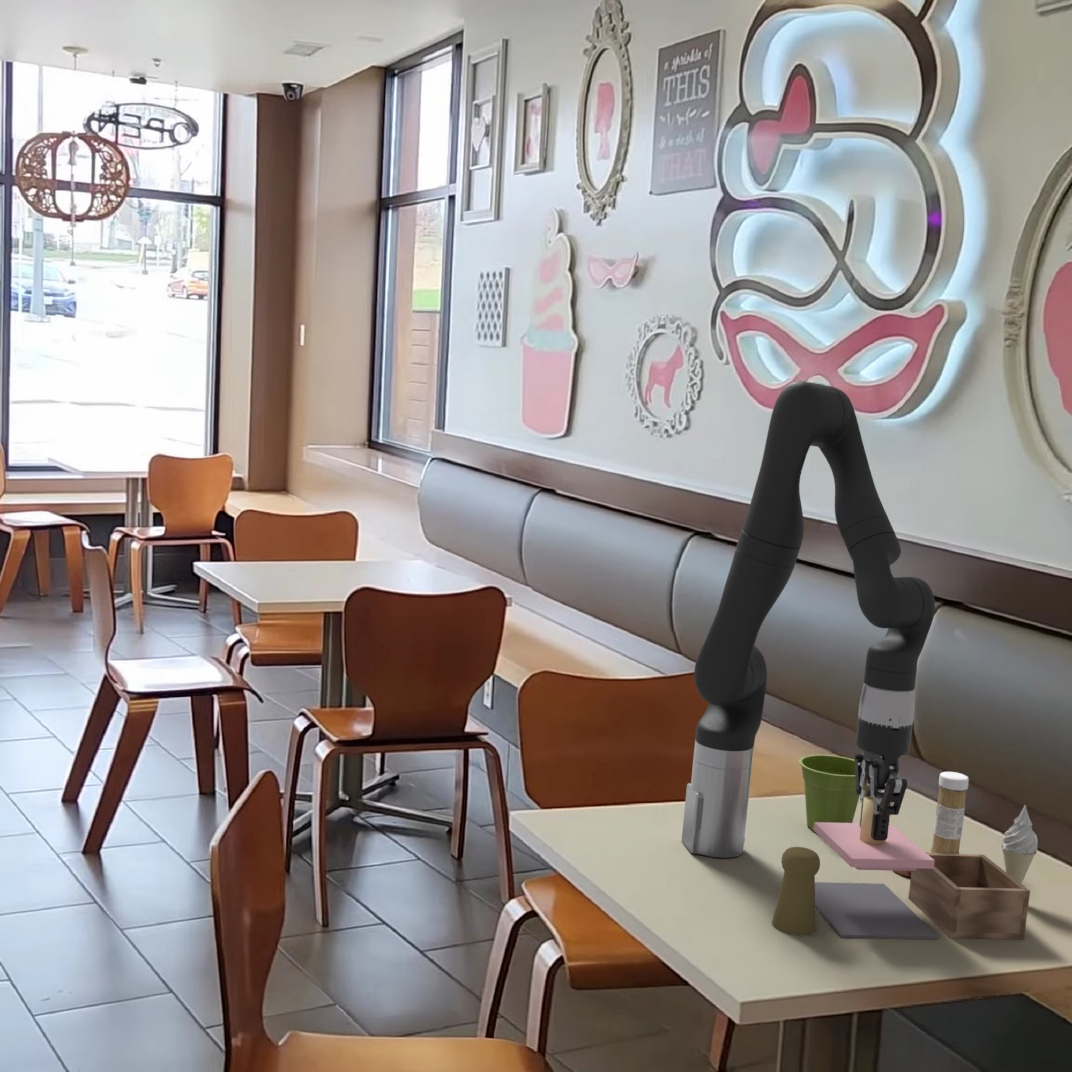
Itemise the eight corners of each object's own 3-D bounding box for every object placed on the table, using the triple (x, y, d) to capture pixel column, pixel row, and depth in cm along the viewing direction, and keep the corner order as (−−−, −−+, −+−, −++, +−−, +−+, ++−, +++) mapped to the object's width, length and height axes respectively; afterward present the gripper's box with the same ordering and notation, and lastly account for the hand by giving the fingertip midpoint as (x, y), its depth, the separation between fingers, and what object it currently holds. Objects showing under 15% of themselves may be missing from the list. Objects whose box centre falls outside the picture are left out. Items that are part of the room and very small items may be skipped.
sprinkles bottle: (941, 847, 229) (950, 769, 228) (965, 856, 226) (974, 777, 224) (924, 852, 226) (934, 772, 225) (948, 861, 223) (958, 780, 221)
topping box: (949, 937, 192) (955, 889, 191) (908, 898, 205) (913, 852, 204) (1023, 939, 193) (1030, 891, 192) (977, 899, 207) (983, 854, 206)
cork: (806, 939, 187) (815, 861, 186) (764, 926, 190) (773, 849, 189) (822, 925, 192) (830, 849, 191) (781, 913, 195) (789, 838, 194)
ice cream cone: (1013, 908, 205) (1025, 810, 203) (987, 896, 209) (999, 799, 207) (1037, 905, 207) (1050, 808, 205) (1011, 892, 211) (1023, 797, 209)
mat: (840, 937, 189) (841, 934, 189) (795, 884, 207) (795, 881, 207) (937, 939, 191) (937, 936, 191) (883, 886, 209) (884, 883, 209)
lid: (850, 874, 190) (856, 816, 189) (812, 836, 205) (818, 782, 204) (932, 875, 192) (939, 818, 191) (889, 838, 206) (895, 784, 205)
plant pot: (790, 813, 241) (797, 751, 240) (860, 822, 240) (867, 759, 238) (793, 836, 229) (800, 770, 228) (866, 844, 228) (874, 778, 227)
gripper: (842, 703, 202) (830, 817, 204) (880, 729, 188) (867, 851, 190) (890, 705, 203) (878, 818, 205) (932, 731, 189) (918, 852, 191)
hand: (873, 834), depth 198 cm, fingers closed on lid, 3 cm apart
